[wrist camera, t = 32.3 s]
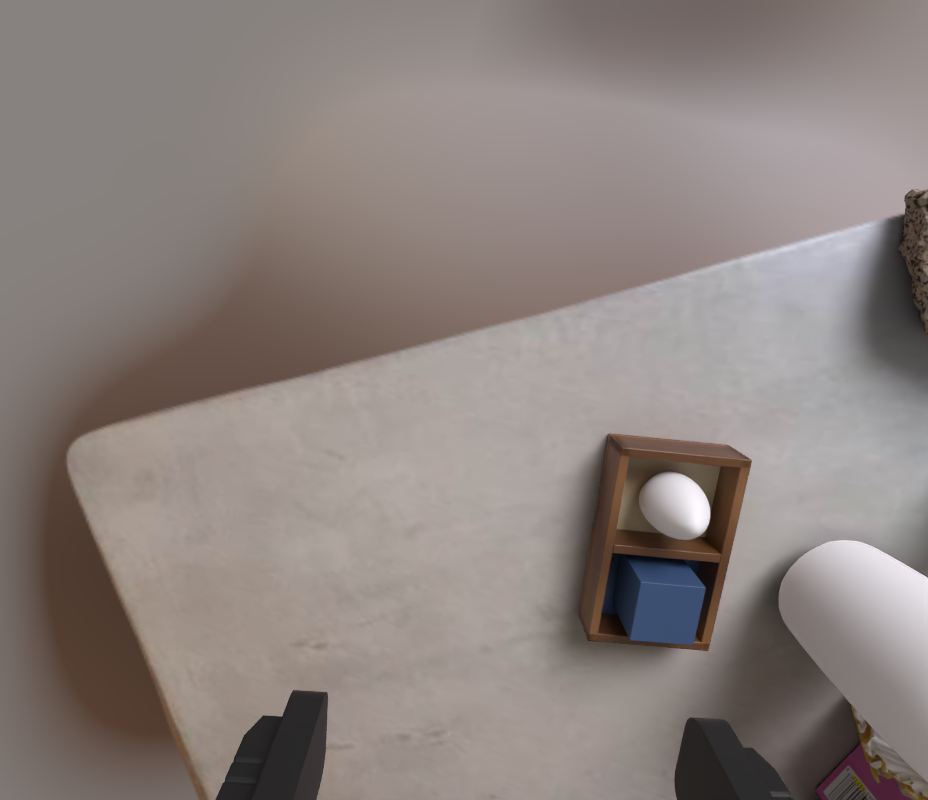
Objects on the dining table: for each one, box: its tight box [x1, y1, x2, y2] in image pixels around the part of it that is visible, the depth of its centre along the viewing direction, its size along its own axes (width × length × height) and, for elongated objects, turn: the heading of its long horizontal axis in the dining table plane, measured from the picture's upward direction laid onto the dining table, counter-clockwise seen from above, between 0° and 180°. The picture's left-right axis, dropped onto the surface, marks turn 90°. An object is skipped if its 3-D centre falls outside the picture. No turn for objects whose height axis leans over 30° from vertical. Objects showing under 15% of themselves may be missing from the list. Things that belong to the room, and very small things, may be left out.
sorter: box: [578, 434, 752, 651], centre depth 36 cm, size 13×8×3 cm, turn 174°
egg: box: [639, 471, 710, 540], centre depth 34 cm, size 4×4×6 cm
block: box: [613, 554, 706, 645], centre depth 36 cm, size 4×4×4 cm
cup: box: [779, 540, 928, 782], centre depth 32 cm, size 8×8×14 cm
